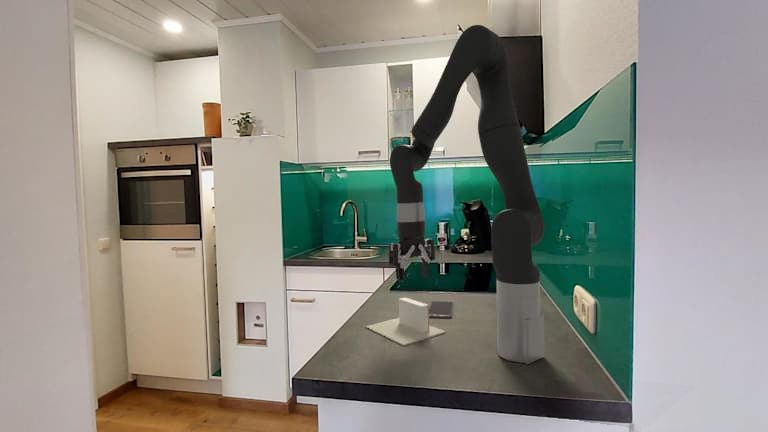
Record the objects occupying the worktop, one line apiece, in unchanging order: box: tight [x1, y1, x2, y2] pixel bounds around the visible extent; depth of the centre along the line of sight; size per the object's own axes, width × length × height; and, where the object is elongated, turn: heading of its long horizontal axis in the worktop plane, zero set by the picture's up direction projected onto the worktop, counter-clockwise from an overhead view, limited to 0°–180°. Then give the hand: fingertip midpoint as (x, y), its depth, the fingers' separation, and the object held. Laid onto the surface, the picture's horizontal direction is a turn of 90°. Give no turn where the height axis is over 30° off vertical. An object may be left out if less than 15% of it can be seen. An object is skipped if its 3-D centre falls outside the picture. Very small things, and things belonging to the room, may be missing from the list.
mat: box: [365, 317, 446, 347], centre depth 109 cm, size 17×14×1 cm
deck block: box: [398, 296, 430, 333], centre depth 110 cm, size 10×2×7 cm, turn 35°
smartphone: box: [429, 300, 454, 319], centre depth 126 cm, size 7×1×16 cm
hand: (413, 279), depth 109 cm, fingers open, 8 cm apart
